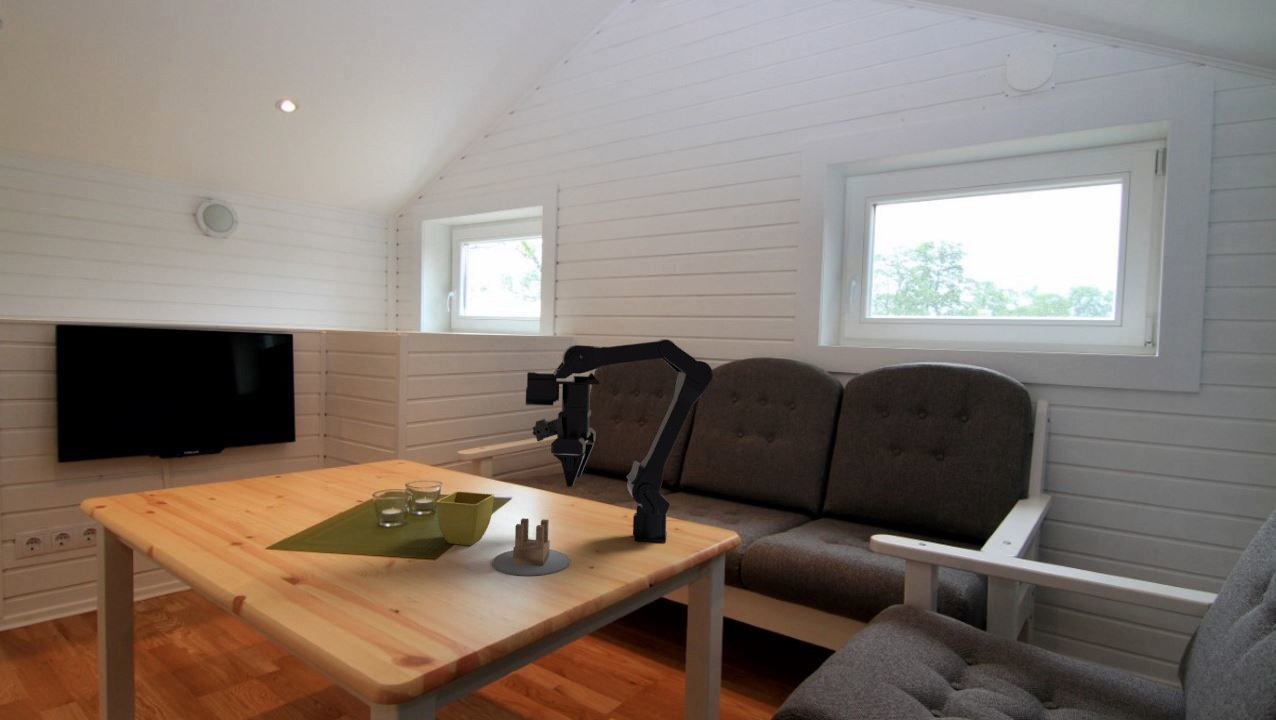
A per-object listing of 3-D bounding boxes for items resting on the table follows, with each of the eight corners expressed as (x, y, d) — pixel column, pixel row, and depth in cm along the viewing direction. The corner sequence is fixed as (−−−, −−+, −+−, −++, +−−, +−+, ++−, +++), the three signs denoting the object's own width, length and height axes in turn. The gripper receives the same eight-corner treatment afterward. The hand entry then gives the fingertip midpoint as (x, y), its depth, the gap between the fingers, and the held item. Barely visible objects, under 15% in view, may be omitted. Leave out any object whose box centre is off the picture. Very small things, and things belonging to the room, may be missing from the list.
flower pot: (475, 550, 129) (476, 504, 129) (434, 546, 131) (434, 500, 131) (494, 537, 138) (495, 494, 138) (455, 533, 140) (455, 491, 139)
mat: (575, 552, 130) (575, 550, 130) (561, 578, 116) (561, 575, 116) (504, 548, 131) (504, 546, 131) (482, 573, 117) (482, 571, 117)
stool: (549, 556, 126) (550, 519, 126) (542, 566, 120) (543, 527, 120) (520, 554, 126) (521, 517, 126) (512, 564, 121) (513, 526, 121)
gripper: (546, 400, 147) (544, 471, 147) (525, 409, 128) (524, 490, 129) (596, 402, 146) (595, 473, 147) (583, 411, 127) (581, 492, 128)
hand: (573, 481), depth 137 cm, fingers open, 9 cm apart
